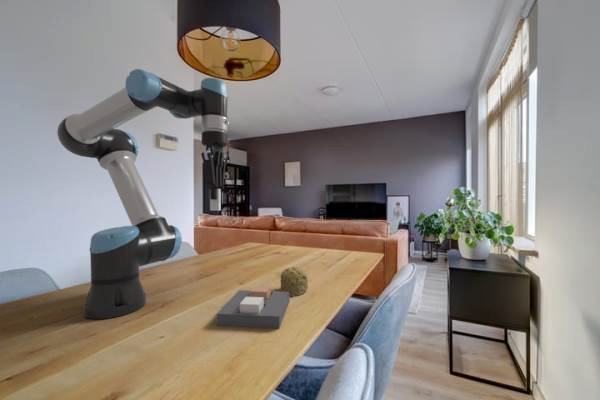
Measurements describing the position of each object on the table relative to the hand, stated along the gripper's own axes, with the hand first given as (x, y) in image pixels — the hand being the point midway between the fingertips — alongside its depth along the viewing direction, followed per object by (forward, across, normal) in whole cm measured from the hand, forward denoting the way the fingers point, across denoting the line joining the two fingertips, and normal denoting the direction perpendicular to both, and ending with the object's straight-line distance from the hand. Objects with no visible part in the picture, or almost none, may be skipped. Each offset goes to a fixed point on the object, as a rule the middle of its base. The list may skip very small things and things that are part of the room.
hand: (215, 210), depth 81 cm
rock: (+29, +13, -22) cm, 38 cm away
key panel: (+28, -5, -14) cm, 32 cm away
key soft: (+27, -10, -14) cm, 32 cm away
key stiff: (+27, 0, -14) cm, 30 cm away
